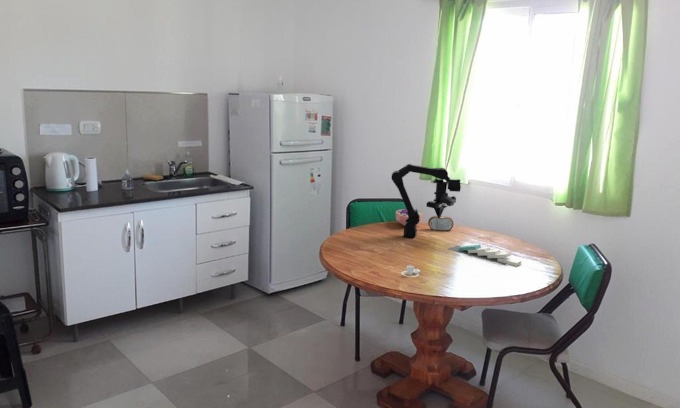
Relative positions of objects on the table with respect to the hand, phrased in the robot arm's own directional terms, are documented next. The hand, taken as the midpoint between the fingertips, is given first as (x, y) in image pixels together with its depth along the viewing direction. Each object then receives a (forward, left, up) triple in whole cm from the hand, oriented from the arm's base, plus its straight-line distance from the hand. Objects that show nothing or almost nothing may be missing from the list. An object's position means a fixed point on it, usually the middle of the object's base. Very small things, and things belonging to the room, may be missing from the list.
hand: (439, 217), depth 296 cm
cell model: (-23, +19, -12) cm, 32 cm away
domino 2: (+27, -20, -11) cm, 36 cm away
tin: (-3, +19, -12) cm, 23 cm away
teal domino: (+17, -17, -11) cm, 26 cm away
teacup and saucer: (+7, -65, -13) cm, 67 cm away
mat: (+27, -20, -12) cm, 36 cm away
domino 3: (+32, -22, -11) cm, 41 cm away
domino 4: (+38, -24, -11) cm, 46 cm away
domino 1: (+22, -19, -11) cm, 31 cm away
